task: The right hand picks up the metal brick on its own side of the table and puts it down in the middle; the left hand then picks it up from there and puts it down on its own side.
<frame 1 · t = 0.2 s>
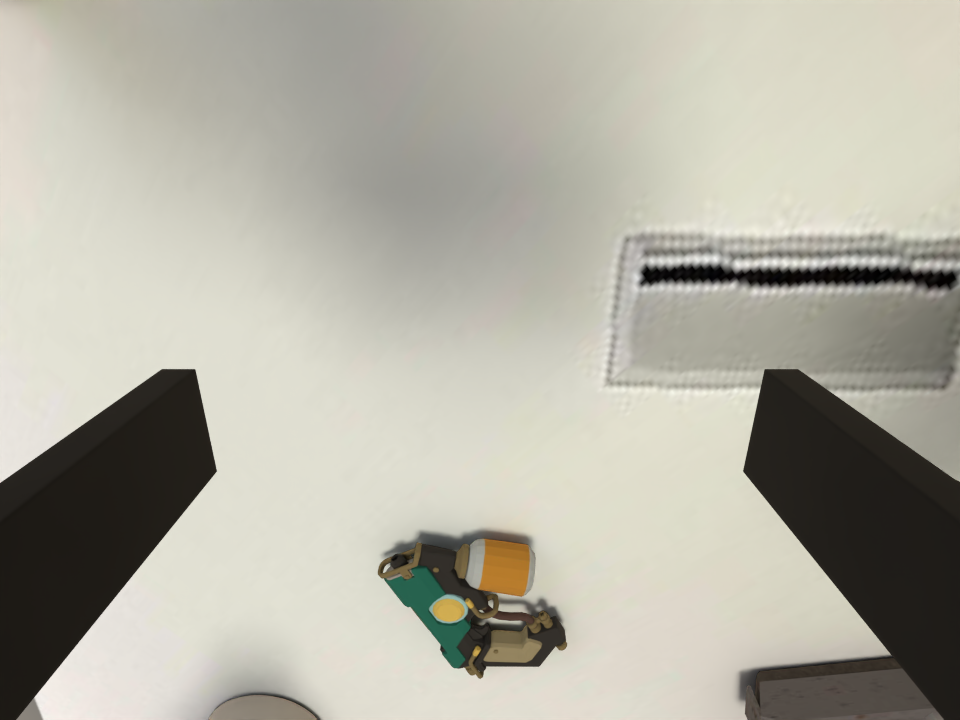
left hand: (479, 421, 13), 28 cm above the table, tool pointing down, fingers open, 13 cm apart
bust sculpture: (259, 708, 57), on the table
spray gun: (476, 593, 51), on the table
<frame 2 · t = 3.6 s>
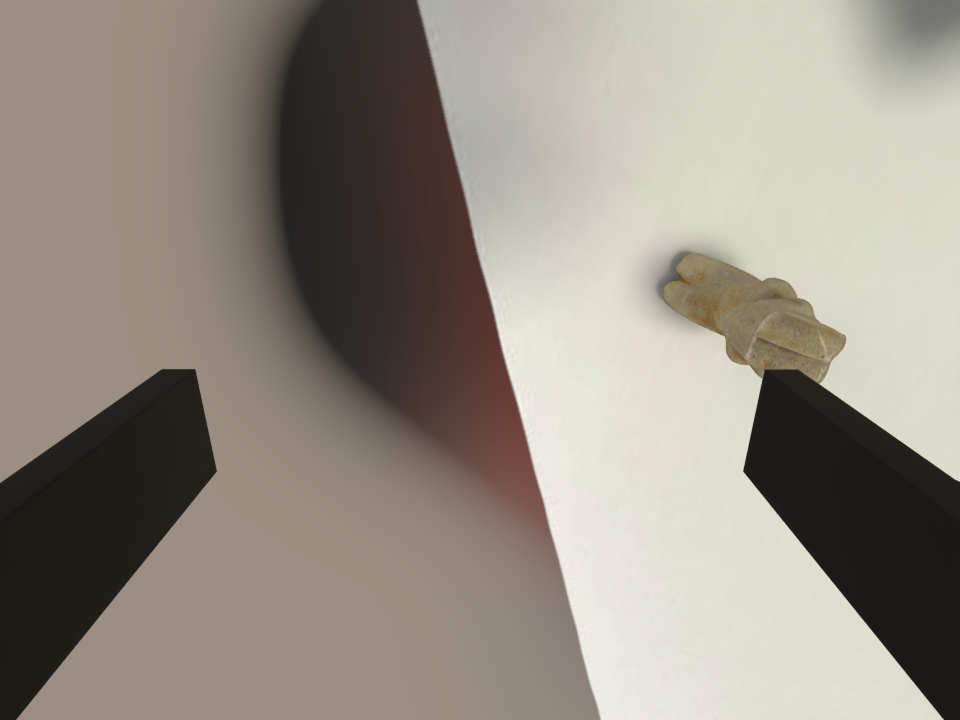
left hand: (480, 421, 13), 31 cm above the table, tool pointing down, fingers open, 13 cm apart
sculpture: (705, 287, 43), on the table
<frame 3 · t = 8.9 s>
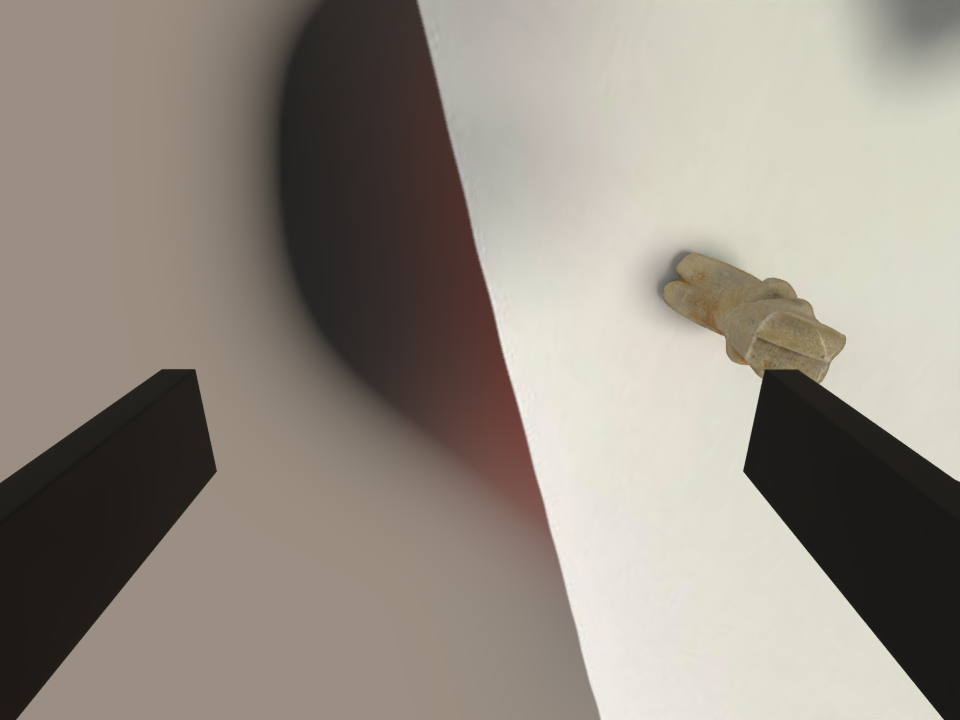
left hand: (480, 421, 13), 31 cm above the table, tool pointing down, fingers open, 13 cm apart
sculpture: (705, 287, 43), on the table
when the right hand's fingers open (4 cm above the table, at t = 14.2 s): brick stays where it is, on the table.
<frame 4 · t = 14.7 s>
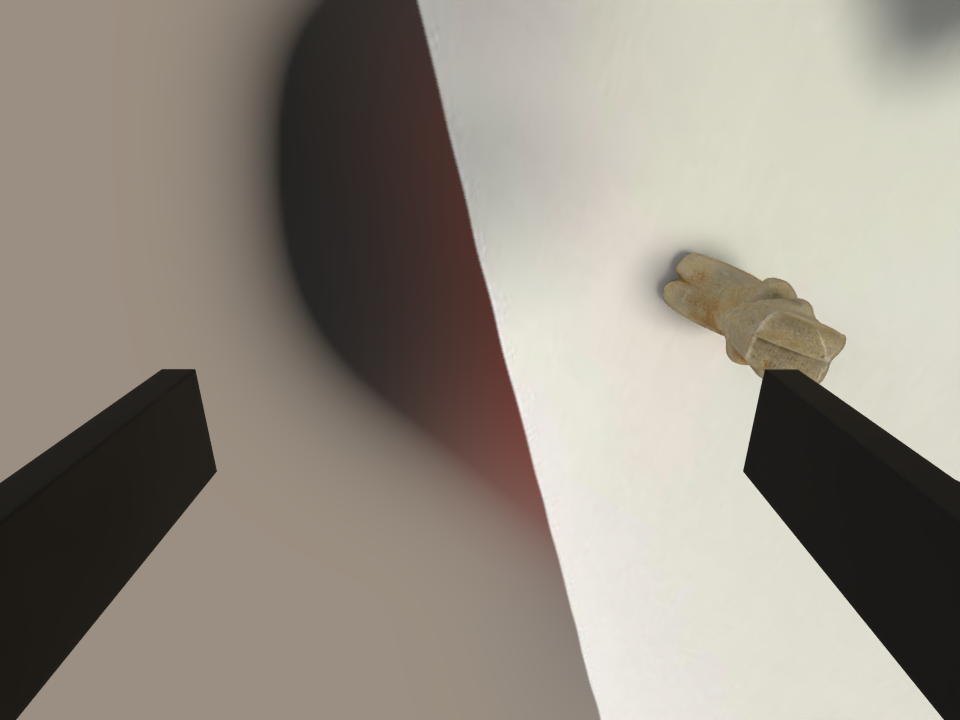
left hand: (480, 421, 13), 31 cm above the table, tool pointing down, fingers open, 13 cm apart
sculpture: (705, 287, 43), on the table
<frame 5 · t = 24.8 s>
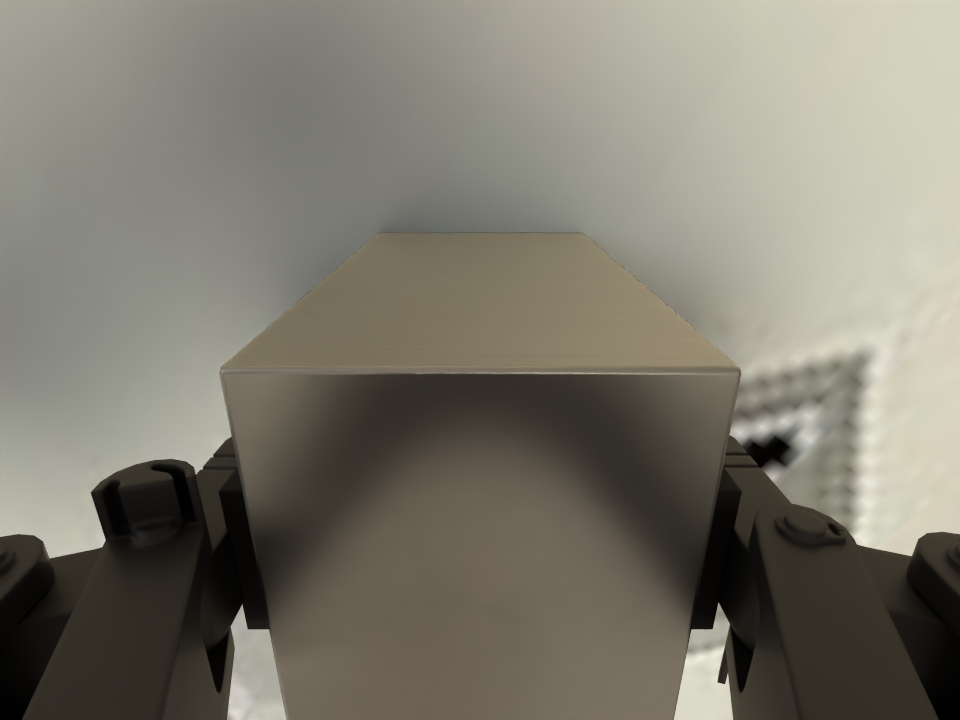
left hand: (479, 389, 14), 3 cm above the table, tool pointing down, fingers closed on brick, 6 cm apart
brick: (480, 347, 17), on the table, touching left hand
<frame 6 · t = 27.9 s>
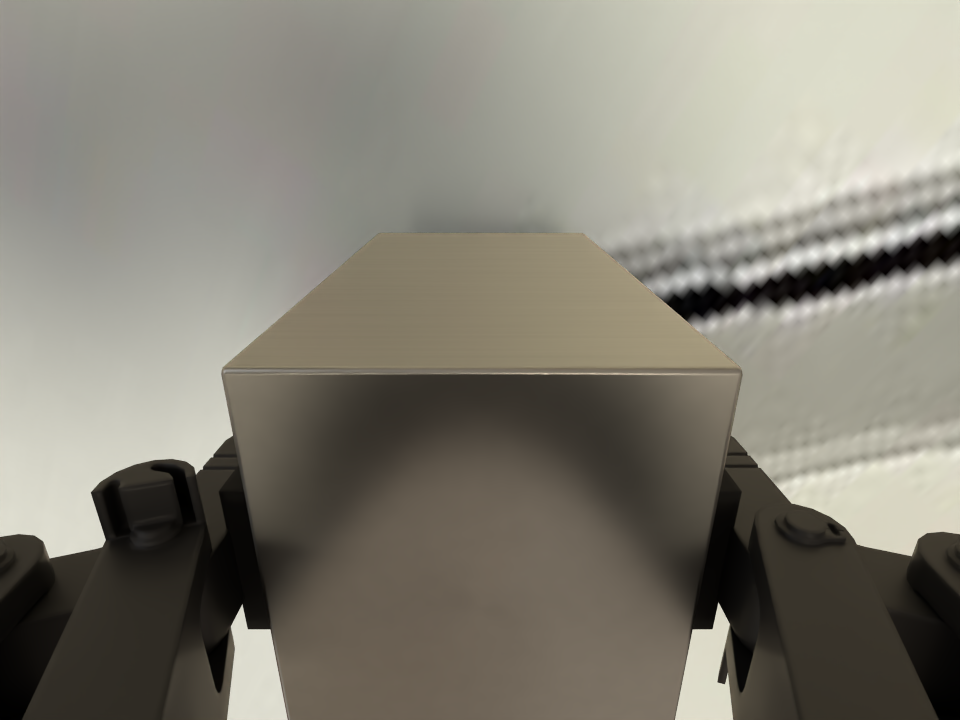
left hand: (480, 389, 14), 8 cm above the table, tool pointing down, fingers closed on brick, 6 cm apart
brick: (481, 348, 17), point 4 cm above the table, touching left hand
when the left hand's fingers open (4 cm above the table, at t = 31.3 s): brick stays where it is, on the table.
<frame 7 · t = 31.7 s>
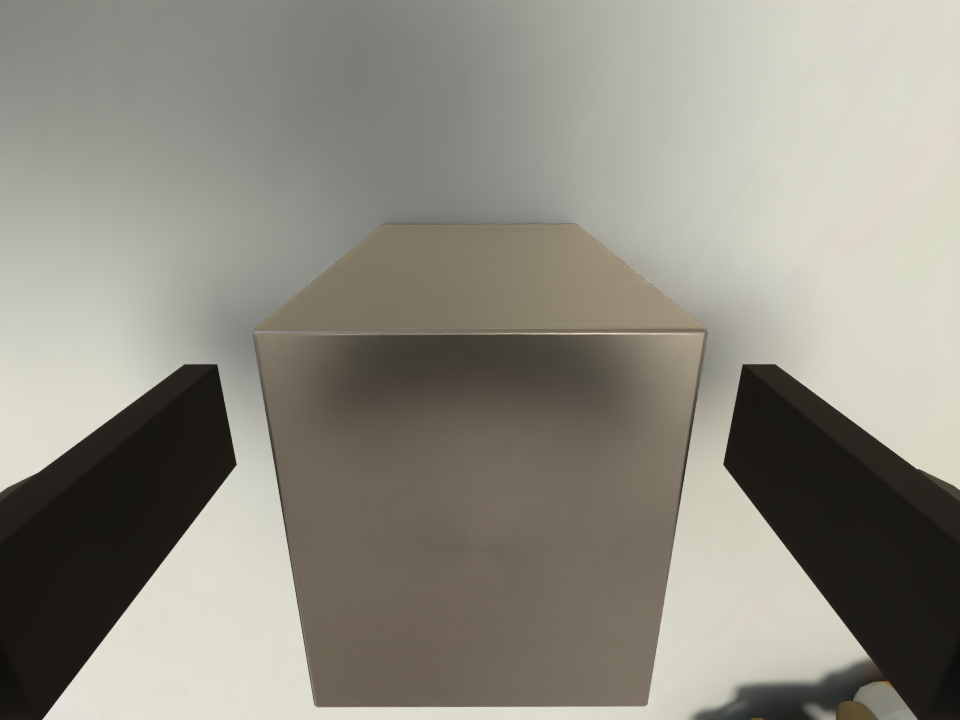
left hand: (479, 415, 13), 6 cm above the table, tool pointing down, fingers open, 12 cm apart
brick: (479, 333, 18), on the table
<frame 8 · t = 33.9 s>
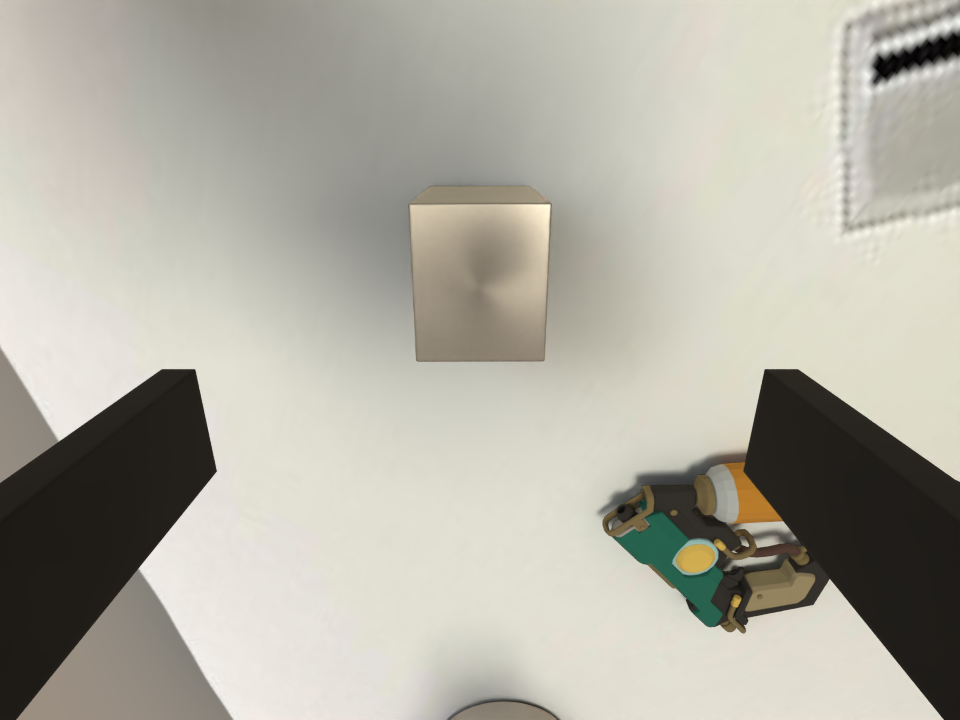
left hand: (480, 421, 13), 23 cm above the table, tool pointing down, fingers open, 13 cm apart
brick: (479, 246, 34), on the table
bust sculpture: (488, 718, 50), on the table
spray gun: (716, 534, 43), on the table
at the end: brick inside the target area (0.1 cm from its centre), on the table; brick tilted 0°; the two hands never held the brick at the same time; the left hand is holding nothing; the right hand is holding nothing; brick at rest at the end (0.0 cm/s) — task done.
